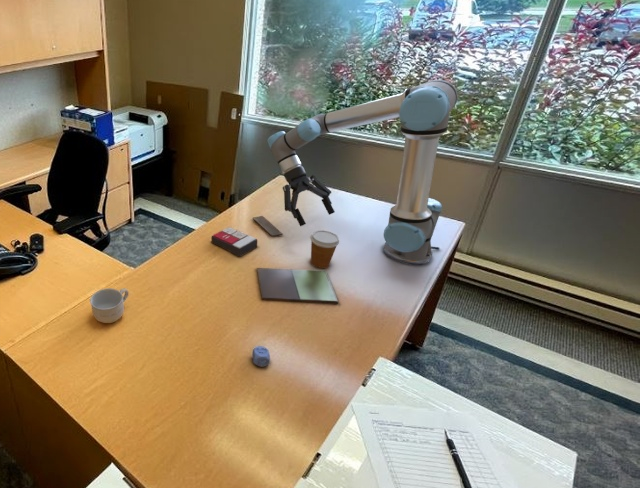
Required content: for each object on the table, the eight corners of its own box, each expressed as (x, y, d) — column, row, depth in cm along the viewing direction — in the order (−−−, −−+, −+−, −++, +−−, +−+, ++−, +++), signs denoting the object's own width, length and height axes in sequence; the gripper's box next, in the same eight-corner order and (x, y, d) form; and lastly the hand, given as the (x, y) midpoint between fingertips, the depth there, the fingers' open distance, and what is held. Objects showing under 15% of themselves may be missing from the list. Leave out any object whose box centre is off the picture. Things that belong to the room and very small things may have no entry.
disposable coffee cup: (301, 257, 160) (306, 231, 154) (325, 255, 160) (331, 228, 154) (313, 272, 152) (319, 244, 146) (338, 269, 152) (345, 242, 146)
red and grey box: (228, 225, 177) (258, 237, 166) (228, 234, 179) (257, 246, 168) (211, 234, 172) (239, 247, 160) (211, 243, 174) (239, 257, 162)
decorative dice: (251, 355, 120) (253, 345, 118) (266, 356, 120) (267, 346, 118) (254, 366, 117) (255, 356, 115) (268, 367, 116) (270, 357, 114)
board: (325, 273, 151) (325, 270, 150) (337, 304, 136) (338, 301, 136) (256, 270, 155) (257, 267, 154) (262, 299, 140) (262, 297, 140)
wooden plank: (252, 216, 187) (262, 214, 188) (252, 219, 187) (262, 216, 188) (272, 235, 173) (283, 233, 174) (272, 238, 174) (282, 235, 174)
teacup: (100, 332, 132) (98, 313, 128) (87, 312, 140) (84, 294, 136) (138, 316, 137) (137, 297, 133) (123, 298, 146) (122, 280, 142)
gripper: (312, 164, 167) (337, 211, 163) (261, 182, 161) (285, 232, 157) (324, 156, 160) (350, 205, 156) (270, 175, 154) (296, 227, 150)
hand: (317, 219), depth 156 cm, fingers open, 13 cm apart
